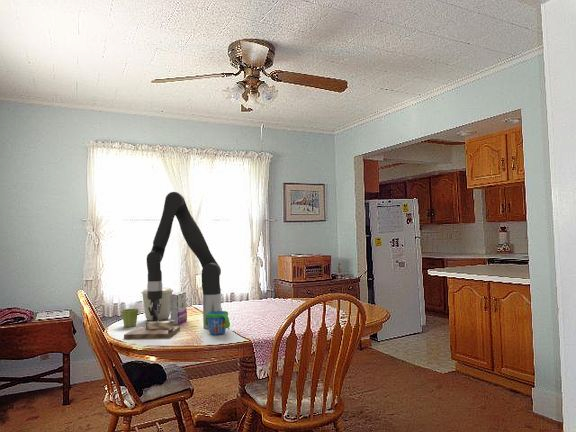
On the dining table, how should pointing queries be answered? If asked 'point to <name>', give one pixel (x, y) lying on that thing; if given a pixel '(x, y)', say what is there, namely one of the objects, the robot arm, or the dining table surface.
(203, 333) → the dining table surface
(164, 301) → the canister
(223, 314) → the snack cup
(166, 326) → the folding leg
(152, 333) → the walnut board
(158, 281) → the robot arm
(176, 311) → the candy bar box
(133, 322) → the plant pot
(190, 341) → the dining table surface
